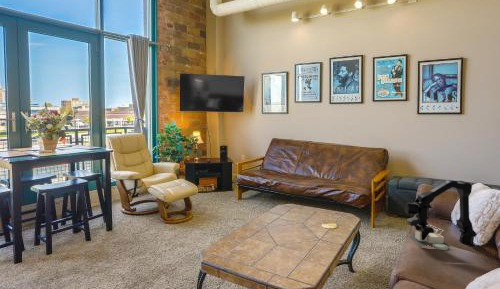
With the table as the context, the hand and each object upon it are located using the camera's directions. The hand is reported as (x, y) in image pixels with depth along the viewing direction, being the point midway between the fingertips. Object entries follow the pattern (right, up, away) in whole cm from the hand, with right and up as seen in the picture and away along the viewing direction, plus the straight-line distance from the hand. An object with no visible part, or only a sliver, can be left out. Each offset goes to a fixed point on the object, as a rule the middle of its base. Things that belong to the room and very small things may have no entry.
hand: (420, 238), depth 204 cm
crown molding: (+18, -1, +21) cm, 28 cm away
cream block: (0, -1, 0) cm, 1 cm away
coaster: (+7, -3, -9) cm, 12 cm away
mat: (+4, -3, -2) cm, 5 cm away
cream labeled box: (+8, -2, 0) cm, 8 cm away
